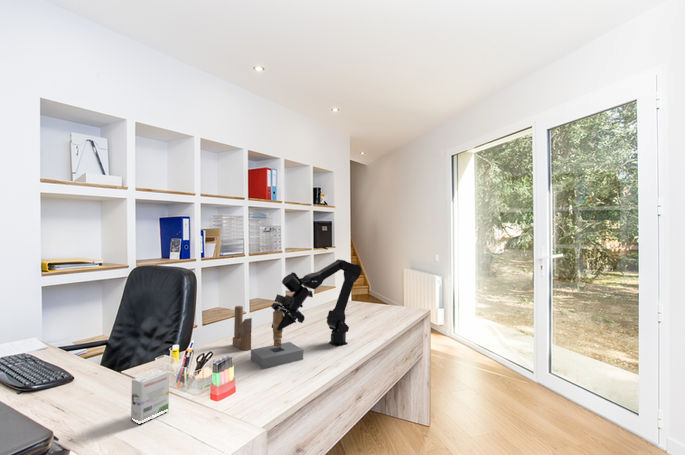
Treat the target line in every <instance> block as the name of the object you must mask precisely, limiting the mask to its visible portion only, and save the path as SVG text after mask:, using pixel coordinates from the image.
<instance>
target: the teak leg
mask: <svg viewBox="0 0 685 455" xmlns="http://www.w3.org/2000/svg"><path fill="white" fill-rule="evenodd" d="M282 320H283V311H275V310H273V311H272V324H273V328H272V333H273V334H272V339H273V345H274V346H275V347H279V346H281V344H282V339H283V331H284V328H283V329H281V330H280V331H278V330H277V328H278V326H279V324H280V323H281V321H282Z"/></svg>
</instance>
